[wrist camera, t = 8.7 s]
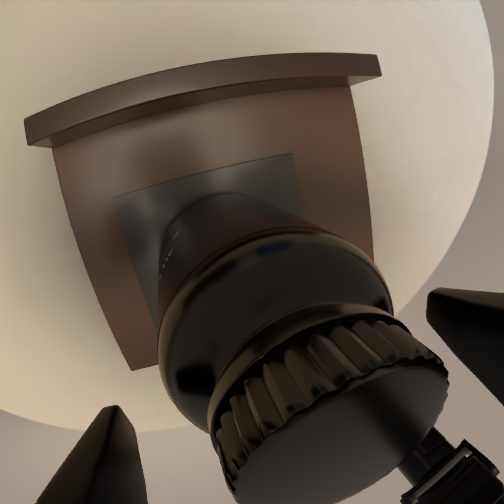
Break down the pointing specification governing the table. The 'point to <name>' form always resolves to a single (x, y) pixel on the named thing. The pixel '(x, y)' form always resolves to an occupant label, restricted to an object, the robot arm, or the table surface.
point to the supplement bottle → (289, 353)
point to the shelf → (203, 164)
